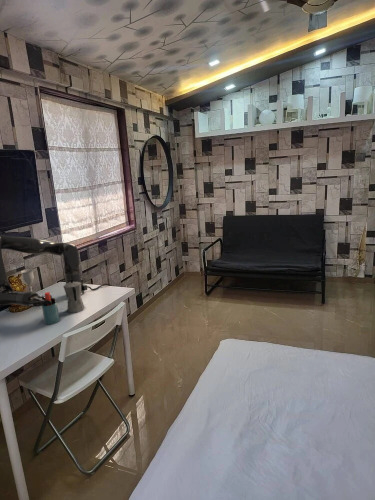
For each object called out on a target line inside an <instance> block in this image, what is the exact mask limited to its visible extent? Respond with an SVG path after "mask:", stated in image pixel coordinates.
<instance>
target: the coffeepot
mask: <svg viewBox="0 0 375 500" xmlns="http://www.w3.org/2000/svg"><path fill="white" fill-rule="evenodd" d="M70 281H71V282H69V283H67V284H66V283H65V284H64V285H63V289H64V292H65V295H66V298H67V312H68V313H70V314H76V313H80V312H82V311H84V309H85V304H84V301H83V299H82V297H81V296H82V295H81V283H80V282H73V279H71V280H70Z"/></svg>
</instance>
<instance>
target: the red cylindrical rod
mask: <svg viewBox="0 0 375 500" xmlns="http://www.w3.org/2000/svg"><path fill="white" fill-rule="evenodd" d="M50 295H51V292H50V291H47V292H45V293H44V296H45V298H46V300H51V297H50ZM51 305H52V304H51ZM47 306H50V305H47Z"/></svg>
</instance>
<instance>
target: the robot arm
mask: <svg viewBox="0 0 375 500" xmlns="http://www.w3.org/2000/svg"><path fill="white" fill-rule="evenodd" d="M2 250H10V251H14V252H18V253H22V254H28V255H54V256H59V257H62V258H63V266H62V269H63V274H64V275H63V276H64V281H65V284H67V283H69V282H71V281H70V280H71V279H73V282H80V283H81V295H80V296H82V295H84V293H85V291H87V290H88V289H90V290H91V291H95V290H98V289H100V288H101V287H104V286H110V287H111V286H112V284H111V283H103V284H100V285H98V286H97V287H94V288H92V287H91V286H89V285H88V284H84V282H83V278H81V277H82V276H81V270H80V256H79V254H80V253H79V249H78V247H77V246H76V245H75V244H72V243H70V242H54V241H50V240H45V239H41V238H36V237H29V236H10V235H4V234H0V288H1V289H2V290H0V306H7V305H8V306H9V305H16V306H22V307H29V308H36V307H37V308H38V307H42V305H45V304H46V305H51V304H52V303H55V302H57V299H56V297H52V295H51V294H50V297H51V300H46V298H45V295H41V294H38V292H34V291H32V292H30V291H19V290H18V291H17V290H16V291H14V289H13V287H12V285H11V284H10V282H9V279H8V275H7V272H6V267H5V264H4V259H3V252H2ZM118 333H121V327H120V328H118Z"/></svg>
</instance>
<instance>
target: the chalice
mask: <svg viewBox="0 0 375 500" xmlns="http://www.w3.org/2000/svg"><path fill="white" fill-rule="evenodd" d="M20 272H21V275H22V279H23V281H24V282H25V283H26V285H27V286H29V287H28V288H29V292H33V289H32V288H33V287H32V285H33V283H34V279H35V276H34V269H33V268H26V269H23V270H21V271H20Z"/></svg>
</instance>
